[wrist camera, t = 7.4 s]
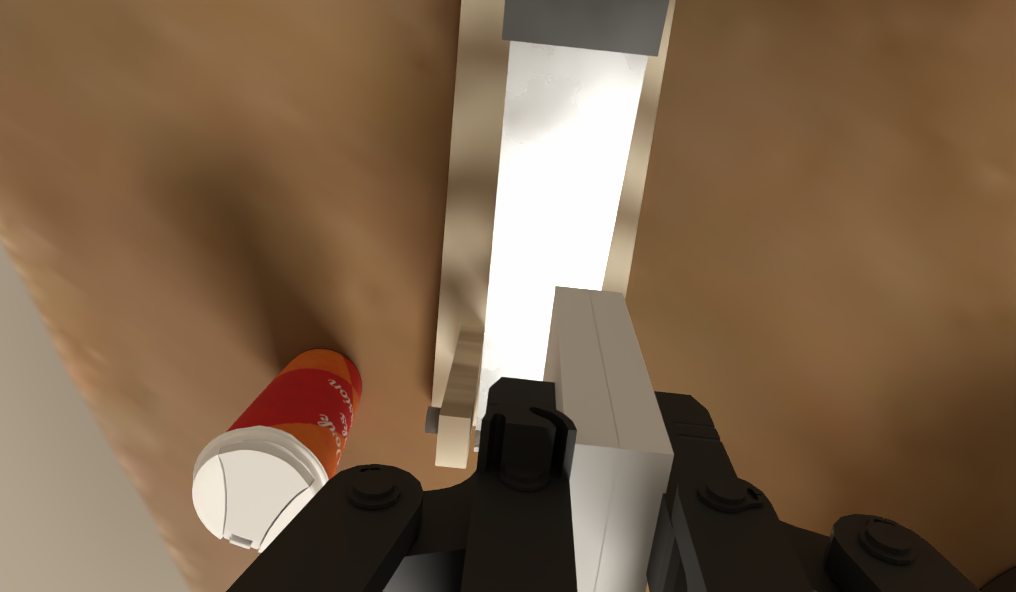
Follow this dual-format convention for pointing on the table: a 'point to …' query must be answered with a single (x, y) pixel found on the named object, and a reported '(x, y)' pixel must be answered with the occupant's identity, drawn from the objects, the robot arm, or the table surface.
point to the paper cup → (278, 450)
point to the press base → (475, 214)
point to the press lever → (559, 164)
